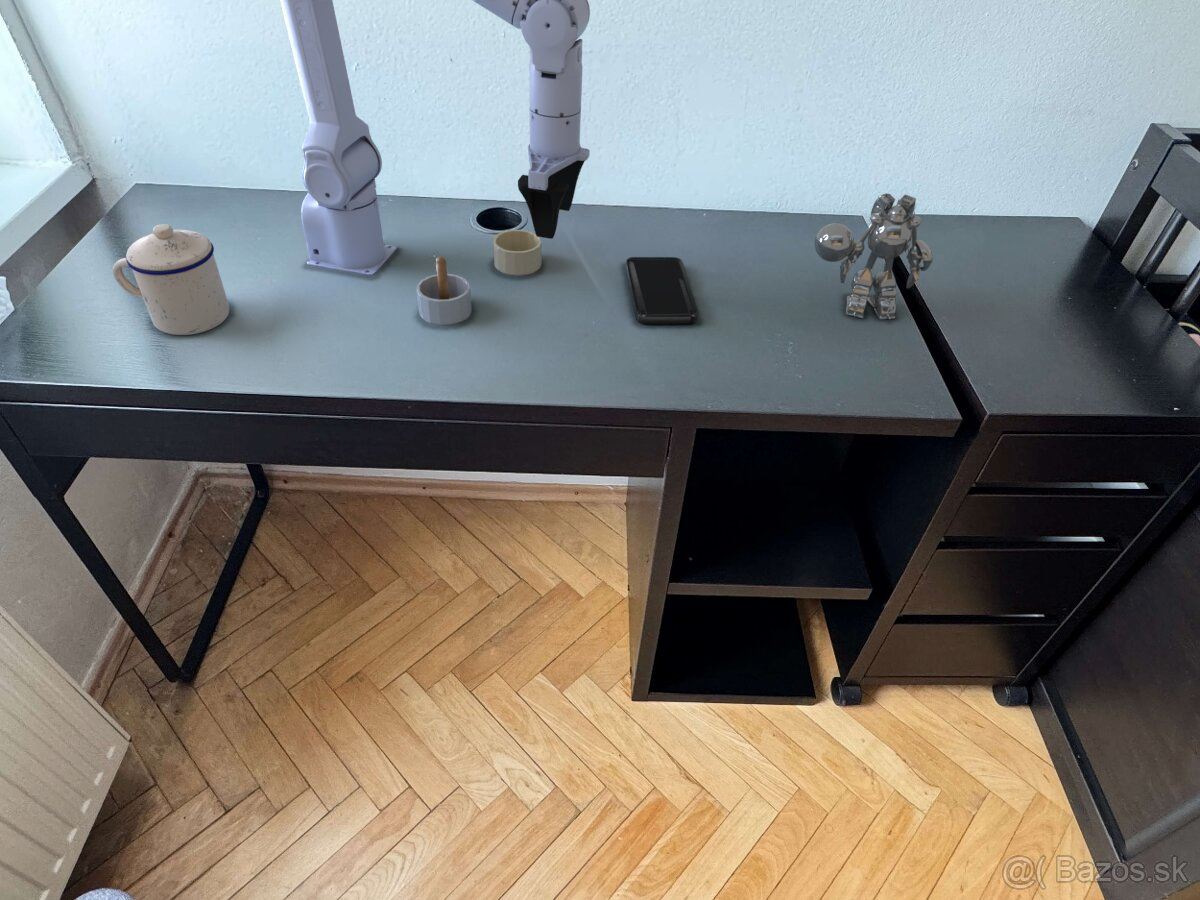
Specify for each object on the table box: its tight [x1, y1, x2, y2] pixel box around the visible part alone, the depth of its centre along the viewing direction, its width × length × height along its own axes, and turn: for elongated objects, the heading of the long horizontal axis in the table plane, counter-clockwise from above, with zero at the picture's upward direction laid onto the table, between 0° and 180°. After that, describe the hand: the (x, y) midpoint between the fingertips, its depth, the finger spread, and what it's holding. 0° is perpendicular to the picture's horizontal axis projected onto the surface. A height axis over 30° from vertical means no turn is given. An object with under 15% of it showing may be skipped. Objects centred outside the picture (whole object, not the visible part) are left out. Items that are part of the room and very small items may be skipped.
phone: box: [625, 256, 699, 325], centre depth 106 cm, size 8×1×15 cm
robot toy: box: [814, 192, 933, 320], centre depth 101 cm, size 15×6×15 cm, turn 87°
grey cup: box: [416, 273, 473, 326], centre depth 99 cm, size 6×6×4 cm
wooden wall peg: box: [435, 255, 456, 300], centre depth 97 cm, size 3×2×7 cm
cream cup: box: [492, 229, 543, 276], centre depth 108 cm, size 6×6×4 cm
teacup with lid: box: [112, 223, 231, 336], centre depth 93 cm, size 12×9×12 cm
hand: (553, 222), depth 98 cm, fingers open, 7 cm apart
